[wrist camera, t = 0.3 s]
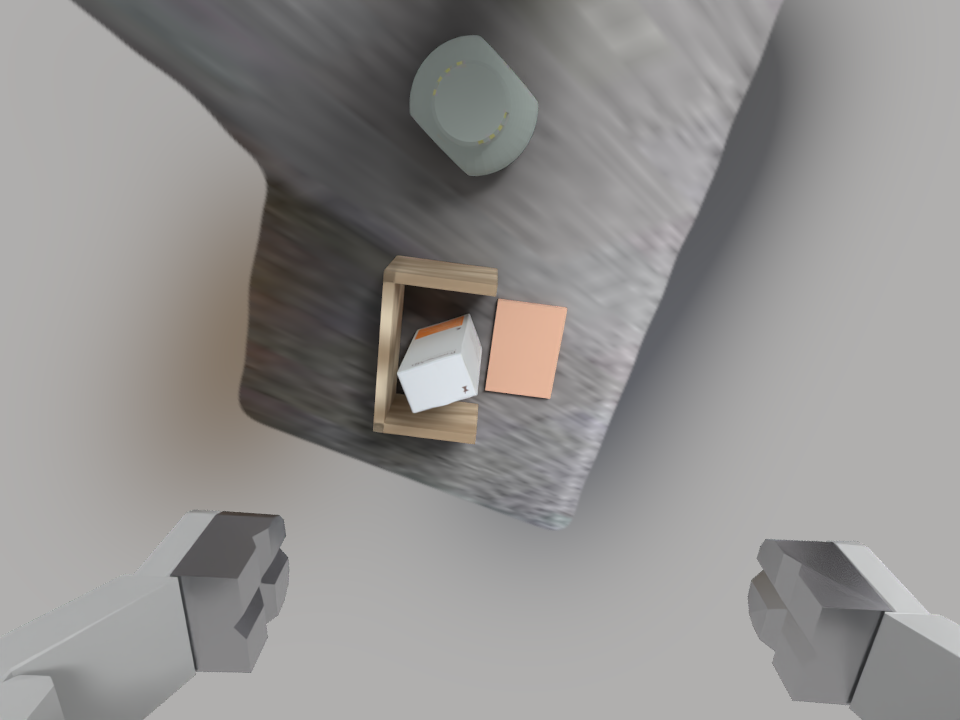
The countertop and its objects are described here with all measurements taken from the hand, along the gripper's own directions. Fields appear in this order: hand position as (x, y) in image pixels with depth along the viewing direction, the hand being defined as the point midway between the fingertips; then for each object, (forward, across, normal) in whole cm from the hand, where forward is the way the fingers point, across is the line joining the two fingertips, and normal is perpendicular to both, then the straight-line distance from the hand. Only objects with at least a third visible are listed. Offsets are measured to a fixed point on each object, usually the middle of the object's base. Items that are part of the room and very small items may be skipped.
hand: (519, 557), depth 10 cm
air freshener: (+48, +3, -9) cm, 49 cm away
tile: (+48, -3, +13) cm, 50 cm away
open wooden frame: (+48, +5, +12) cm, 50 cm away
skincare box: (+48, +5, +12) cm, 50 cm away
